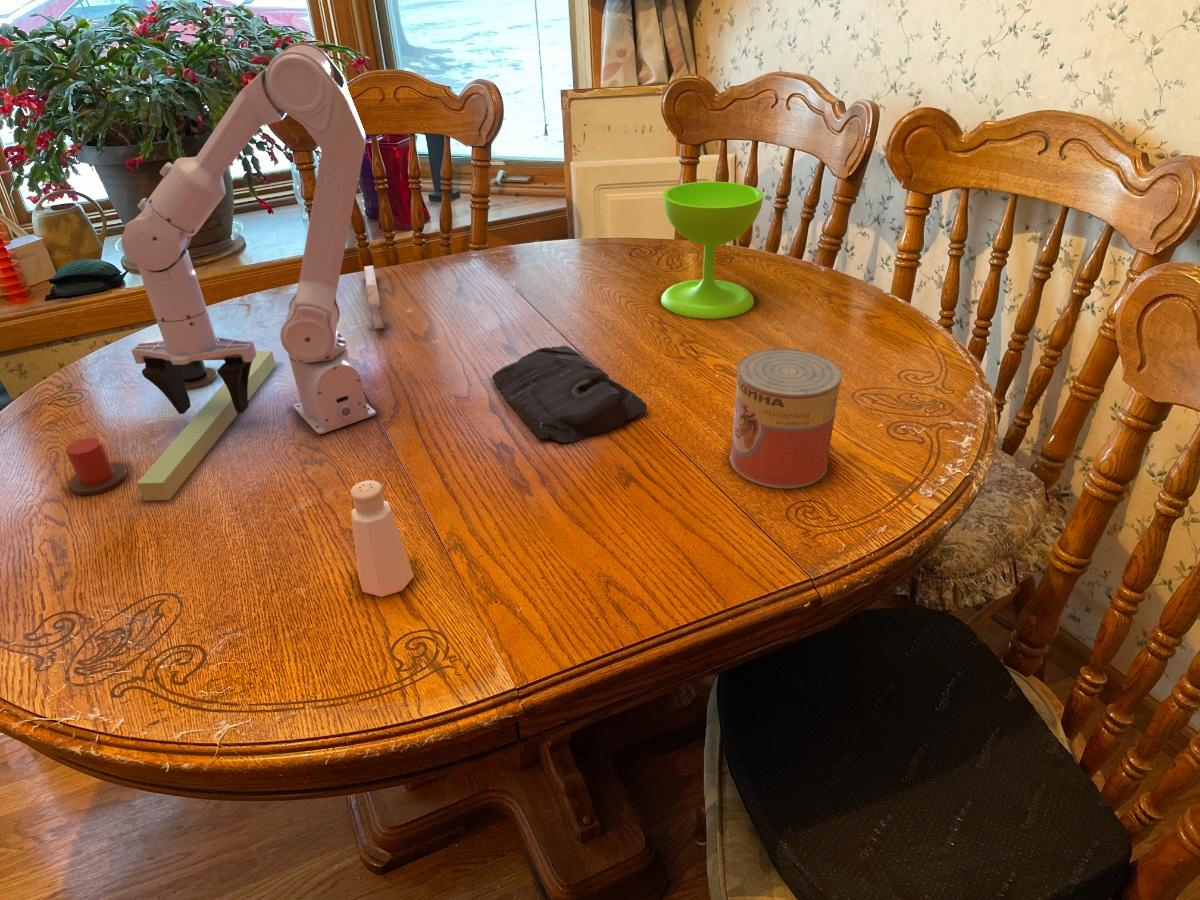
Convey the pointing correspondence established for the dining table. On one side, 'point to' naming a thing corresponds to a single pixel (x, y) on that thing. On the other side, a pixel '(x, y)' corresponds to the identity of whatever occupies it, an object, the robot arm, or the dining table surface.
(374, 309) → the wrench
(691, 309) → the wineglass
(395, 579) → the pepper shaker
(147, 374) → the robot arm
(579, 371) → the black fabric pouch
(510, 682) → the dining table surface
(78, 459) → the red top hat
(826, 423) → the canned food
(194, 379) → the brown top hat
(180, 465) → the bar
